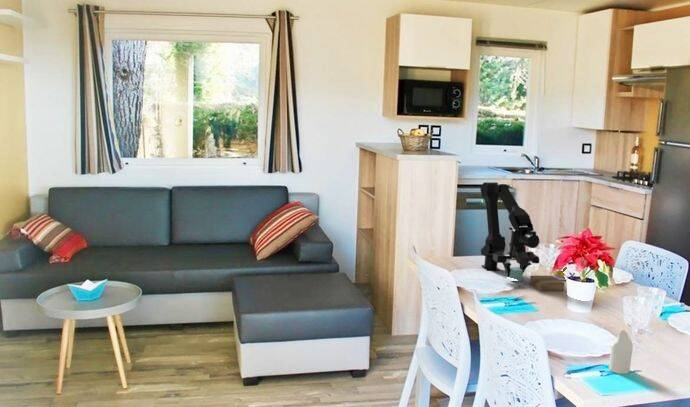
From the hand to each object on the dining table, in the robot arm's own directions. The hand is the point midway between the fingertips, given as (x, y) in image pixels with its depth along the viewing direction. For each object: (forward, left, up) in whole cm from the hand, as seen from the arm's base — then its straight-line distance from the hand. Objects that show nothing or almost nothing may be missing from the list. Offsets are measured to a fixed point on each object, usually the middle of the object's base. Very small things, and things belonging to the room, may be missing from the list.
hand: (514, 277), depth 264 cm
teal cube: (0, 0, -1) cm, 1 cm away
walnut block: (+10, +10, -1) cm, 14 cm away
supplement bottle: (-3, +23, -1) cm, 23 cm away
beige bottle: (+86, -4, -1) cm, 86 cm away
